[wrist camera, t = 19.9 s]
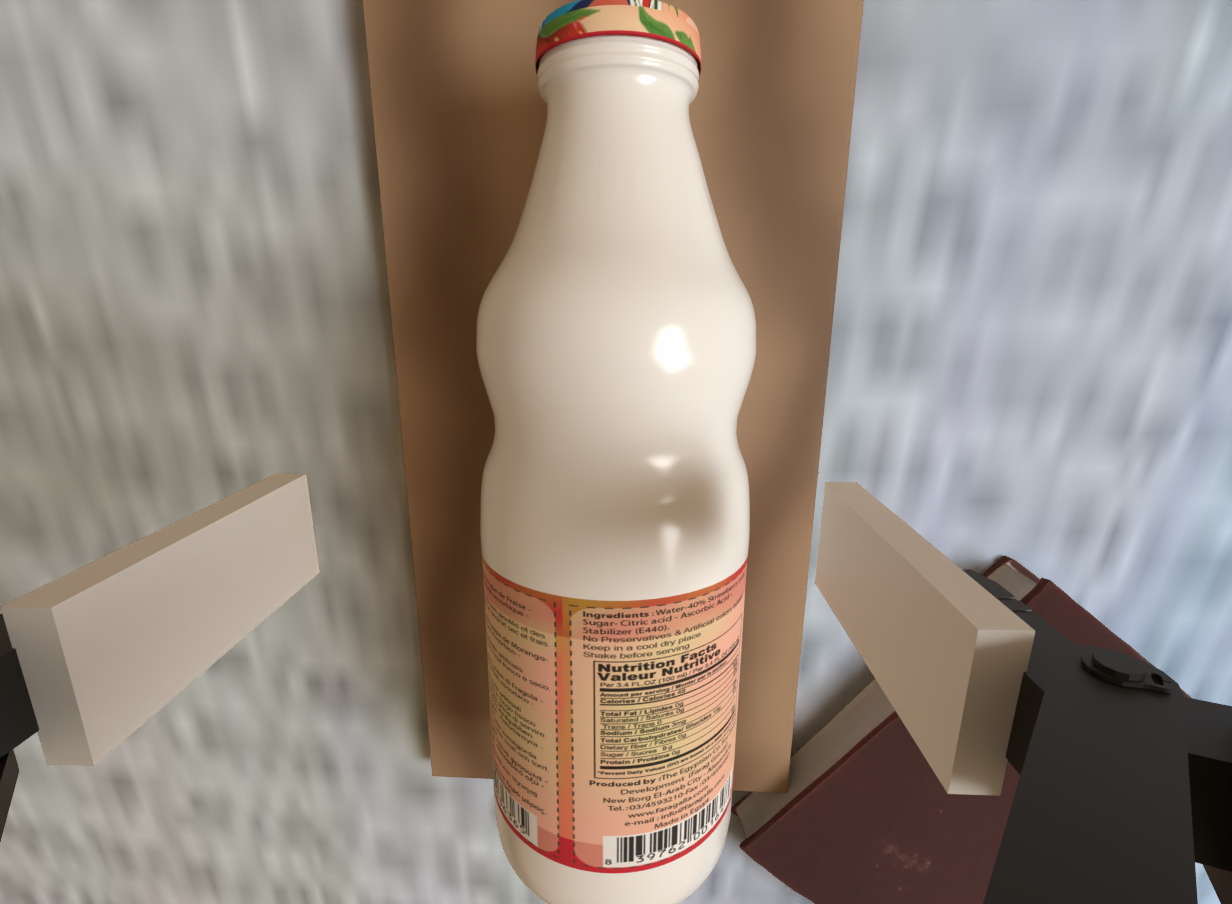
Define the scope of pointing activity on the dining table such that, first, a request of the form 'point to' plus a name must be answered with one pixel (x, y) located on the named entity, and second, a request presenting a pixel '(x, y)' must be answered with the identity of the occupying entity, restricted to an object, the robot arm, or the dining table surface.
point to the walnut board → (479, 240)
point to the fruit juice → (615, 477)
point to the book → (894, 795)
